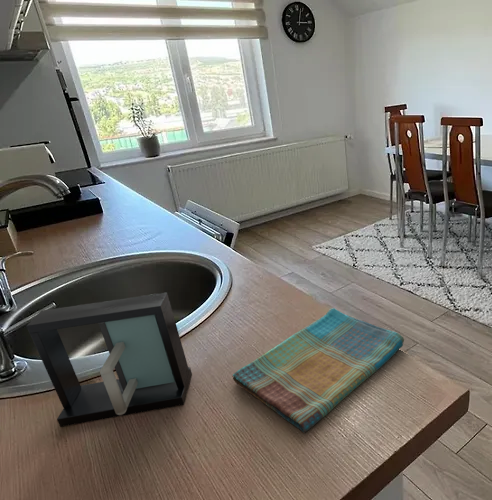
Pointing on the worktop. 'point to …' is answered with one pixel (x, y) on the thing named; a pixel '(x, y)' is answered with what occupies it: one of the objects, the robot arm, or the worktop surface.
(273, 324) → the worktop surface
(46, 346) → the window frame
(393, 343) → the dish towel
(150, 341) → the pane
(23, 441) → the worktop surface
